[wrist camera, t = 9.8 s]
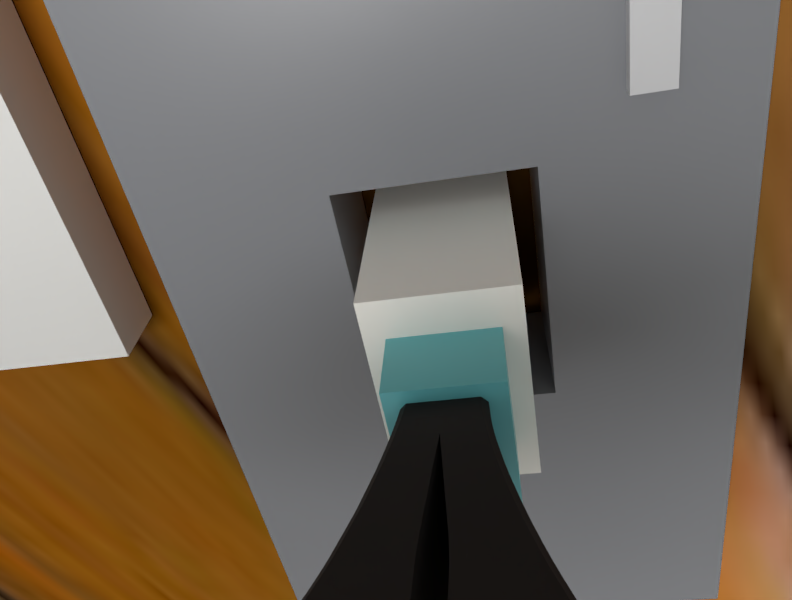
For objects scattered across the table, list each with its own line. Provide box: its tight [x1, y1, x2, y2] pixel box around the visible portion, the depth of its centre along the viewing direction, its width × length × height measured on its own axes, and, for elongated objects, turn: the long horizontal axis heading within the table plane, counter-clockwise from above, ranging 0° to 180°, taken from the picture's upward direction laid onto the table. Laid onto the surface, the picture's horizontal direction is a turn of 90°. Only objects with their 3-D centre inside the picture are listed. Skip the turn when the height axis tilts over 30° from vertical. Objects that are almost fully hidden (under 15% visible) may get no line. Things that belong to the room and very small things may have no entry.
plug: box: [353, 171, 541, 503], centre depth 15 cm, size 4×3×7 cm, turn 10°
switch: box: [43, 0, 781, 600], centre depth 17 cm, size 22×12×4 cm, turn 10°
